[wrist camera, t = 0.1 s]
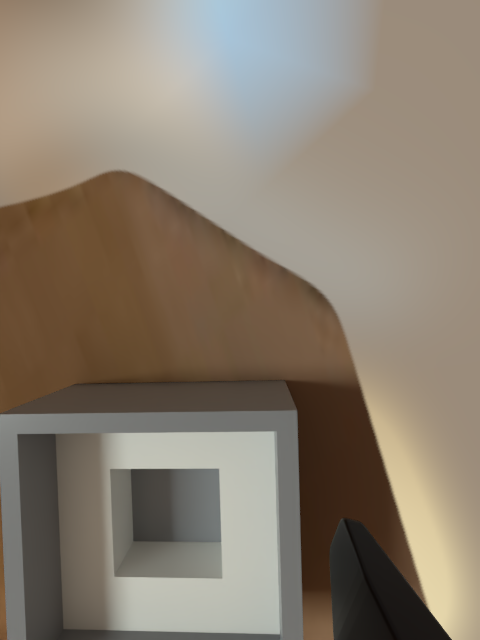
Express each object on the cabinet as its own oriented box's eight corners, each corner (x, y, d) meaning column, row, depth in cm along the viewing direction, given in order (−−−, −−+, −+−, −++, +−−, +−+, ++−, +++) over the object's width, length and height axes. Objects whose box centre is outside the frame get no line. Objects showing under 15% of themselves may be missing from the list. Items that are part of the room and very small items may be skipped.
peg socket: (290, 592, 23) (305, 715, 16) (83, 588, 24) (10, 705, 17) (284, 380, 22) (297, 410, 15) (75, 384, 23) (-3, 414, 16)
